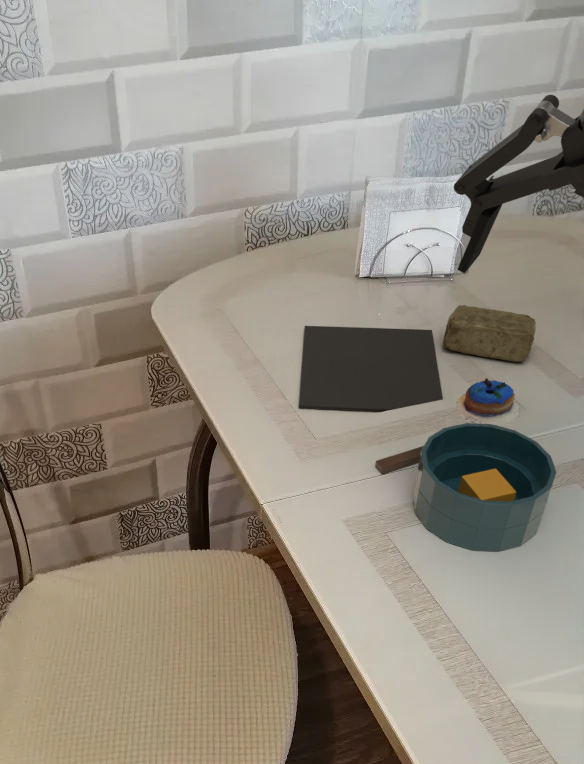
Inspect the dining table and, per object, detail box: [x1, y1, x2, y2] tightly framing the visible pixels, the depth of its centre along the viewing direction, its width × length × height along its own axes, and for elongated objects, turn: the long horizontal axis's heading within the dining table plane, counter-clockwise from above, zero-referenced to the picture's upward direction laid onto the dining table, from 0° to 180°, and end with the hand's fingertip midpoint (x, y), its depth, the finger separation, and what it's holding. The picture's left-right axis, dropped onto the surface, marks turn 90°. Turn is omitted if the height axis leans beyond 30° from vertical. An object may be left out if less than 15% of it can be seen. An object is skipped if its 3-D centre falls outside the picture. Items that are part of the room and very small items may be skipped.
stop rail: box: [374, 445, 424, 476], centre depth 92 cm, size 12×2×2 cm, turn 113°
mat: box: [298, 325, 444, 413], centre depth 107 cm, size 18×20×1 cm
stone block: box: [442, 304, 537, 363], centre depth 108 cm, size 6×12×5 cm, turn 68°
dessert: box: [455, 377, 520, 427], centre depth 98 cm, size 8×7×6 cm
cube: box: [458, 469, 516, 502], centre depth 83 cm, size 4×4×4 cm
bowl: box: [412, 422, 557, 553], centre depth 83 cm, size 13×13×7 cm
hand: (537, 300), depth 69 cm, fingers open, 13 cm apart
